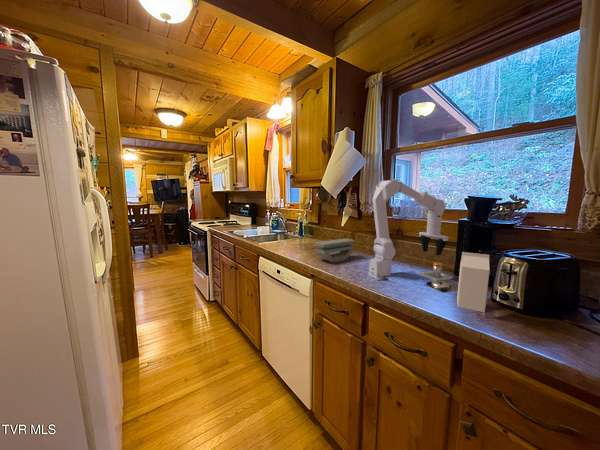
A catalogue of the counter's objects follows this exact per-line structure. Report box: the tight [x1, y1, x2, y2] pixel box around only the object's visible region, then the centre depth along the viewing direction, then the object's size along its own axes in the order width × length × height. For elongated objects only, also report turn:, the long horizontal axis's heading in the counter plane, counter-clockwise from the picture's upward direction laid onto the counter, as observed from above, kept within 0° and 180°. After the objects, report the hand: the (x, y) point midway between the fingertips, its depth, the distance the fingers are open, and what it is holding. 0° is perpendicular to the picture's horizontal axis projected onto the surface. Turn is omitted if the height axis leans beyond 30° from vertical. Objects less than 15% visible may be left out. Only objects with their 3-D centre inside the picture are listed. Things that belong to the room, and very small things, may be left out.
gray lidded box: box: [313, 238, 356, 263], centre depth 139 cm, size 25×8×11 cm, turn 125°
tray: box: [420, 271, 453, 282], centre depth 107 cm, size 9×8×2 cm
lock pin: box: [431, 261, 443, 278], centre depth 106 cm, size 4×4×7 cm
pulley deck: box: [423, 280, 459, 294], centre depth 95 cm, size 13×9×4 cm
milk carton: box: [456, 251, 491, 317], centre depth 78 cm, size 7×7×19 cm
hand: (431, 253), depth 113 cm, fingers open, 7 cm apart
